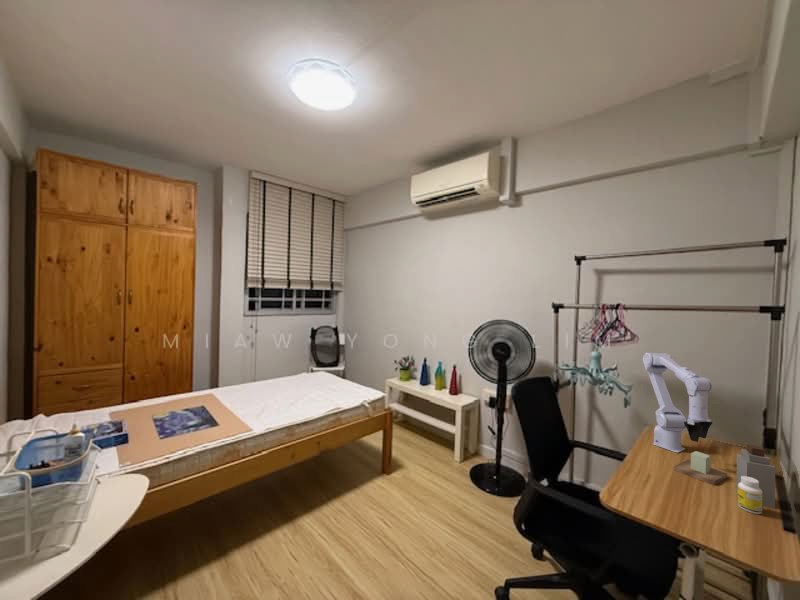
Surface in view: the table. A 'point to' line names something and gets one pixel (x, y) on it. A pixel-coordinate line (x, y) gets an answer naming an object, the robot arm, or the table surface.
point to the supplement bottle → (750, 495)
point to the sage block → (700, 462)
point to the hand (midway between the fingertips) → (698, 439)
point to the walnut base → (710, 477)
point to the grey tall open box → (758, 472)
